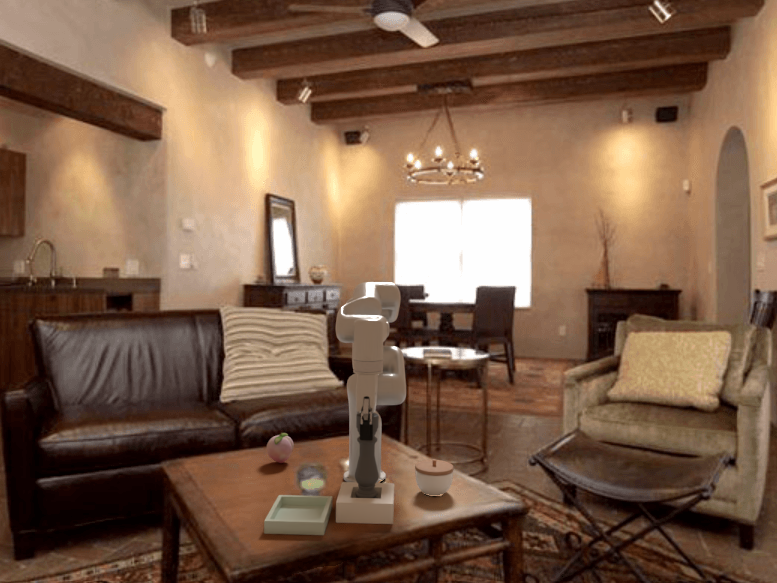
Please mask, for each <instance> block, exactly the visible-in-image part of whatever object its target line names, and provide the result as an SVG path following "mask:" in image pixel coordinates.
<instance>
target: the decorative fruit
mask: <svg viewBox="0 0 777 583" xmlns="http://www.w3.org/2000/svg"><path fill="white" fill-rule="evenodd" d="M294 446H295V445H294V441H293V439H292V438H291V437H290V436H289V434H288V433H286V432H280V433H279V434H277V435H275V436H272V437H271V438H270V439H269V440H268V442H267V444H266V453H267V455H268V457H269V458H270V459H271V460H272V461H275V462H277V463H279V464H282V463H284V462H286V461H287V460H288V459H289V458H290V457H291V455H292V453H293V450H294Z"/></svg>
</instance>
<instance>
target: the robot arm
mask: <svg viewBox="0 0 777 583" xmlns="http://www.w3.org/2000/svg"><path fill="white" fill-rule="evenodd" d="M401 298H402V297H401V291H400V289H399V287H398V285H397V284H396V283H394V282H389V281H386V282H383V281H381V282H380V281H375V282H374V281H364V282H361V283H358V284H357V285H356V286H355V287H354V289H353V292H352V297H350V298H349V299H347V300H346V302H345V304H343V305H342V306H341V307H340V308H339V309H338V312H337V314H336V322H335V334H336V338H337V339H338V340H339V342H341V343H343V344H344V343H345V344H352V346H351V347H352V349H351V350H352V352H351V353H352V354H351V355H352V356H351V361H352V369H353V370H352V371H353V372H352V373H353V374H352V375H350V376H349V377H348V379H347V383H346V392H347V394H346V395H347V399H348V410H349V412H348V413H349V414H348V416H349V417H348V418H349V420H348V421H349V423H348V424H349V427H348V428H349V432H348V433H349V435H348V436H349V438H348V439H349V440H348V445H349V446H348V447H349V451H348V452H349V453H348V470H347V471H345V472H344V473H343V480H344V482H357V481H356V479H355V471H356V467H357V463H358V459H359V455H360V444H359V442H358V441H357V438H358V437H359V436H360V440H373V424H372V414H373V413H376V414H378V415H379V427H378V429H377V432H376V434H375V437H377V442H376V443H375V460H376V464H377V469H378V474H379V478H378V480H377V482H376V483H378V482H379V481H380V480H384V479H385V480H386V479H387V474H386V473H385V472H384V471H383V470H382V418H381V415H380V414H379V412H378V411H377V410H376V409H377V406H398V405H401V404H403V403H404V402H405V400H406V397H407V381H406V369H405V358H404V354H403V351H402V350H401V348H400V347H398V346H395V345H384V342H385V341H386V340H387V338H388V337H389V335H390V323H394V322H395V321H397V319H398V316H399V312H400V305H401ZM359 413H361V424H360V435H359V432H358V430H357V427H356V415H357V414H359ZM369 415H370V416H369Z"/></svg>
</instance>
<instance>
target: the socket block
mask: <svg viewBox="0 0 777 583" xmlns="http://www.w3.org/2000/svg"><path fill="white" fill-rule="evenodd" d="M358 488H359V487H358V483H357V482H346V481H341V485H340V488H339V491H338V494H337V498H336V502H335V523H337V524H341V523H342V524H343V523H344V524H373V525H374V524H378V525H380V524H381V525H393V524H394V509H395V483H393V482H382V483H376V484H375V487H374V488H375V490H376V491H377V493H378V495H377V497H378V498H355V497H356V494H355V493H356V491H357V490H358Z"/></svg>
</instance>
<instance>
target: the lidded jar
mask: <svg viewBox="0 0 777 583" xmlns="http://www.w3.org/2000/svg"><path fill="white" fill-rule="evenodd" d="M414 470H415V472H414V473H415V482H416V485H417V487H418V489H419V490H420V491H421V492H422V493H423V492H424V493H425V494H429V495H440V494H444V493H445V494H446V493H447V492H448V491H449V489H450V488H451V486H452V483H453V478H454V465H453V464H452V463H450V462H448V461H445V460H441V459H434V458H433V459H426V460H425V459H424V460H420V461H418V462H416V463H415V465H414ZM445 494H444V495H445Z"/></svg>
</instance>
